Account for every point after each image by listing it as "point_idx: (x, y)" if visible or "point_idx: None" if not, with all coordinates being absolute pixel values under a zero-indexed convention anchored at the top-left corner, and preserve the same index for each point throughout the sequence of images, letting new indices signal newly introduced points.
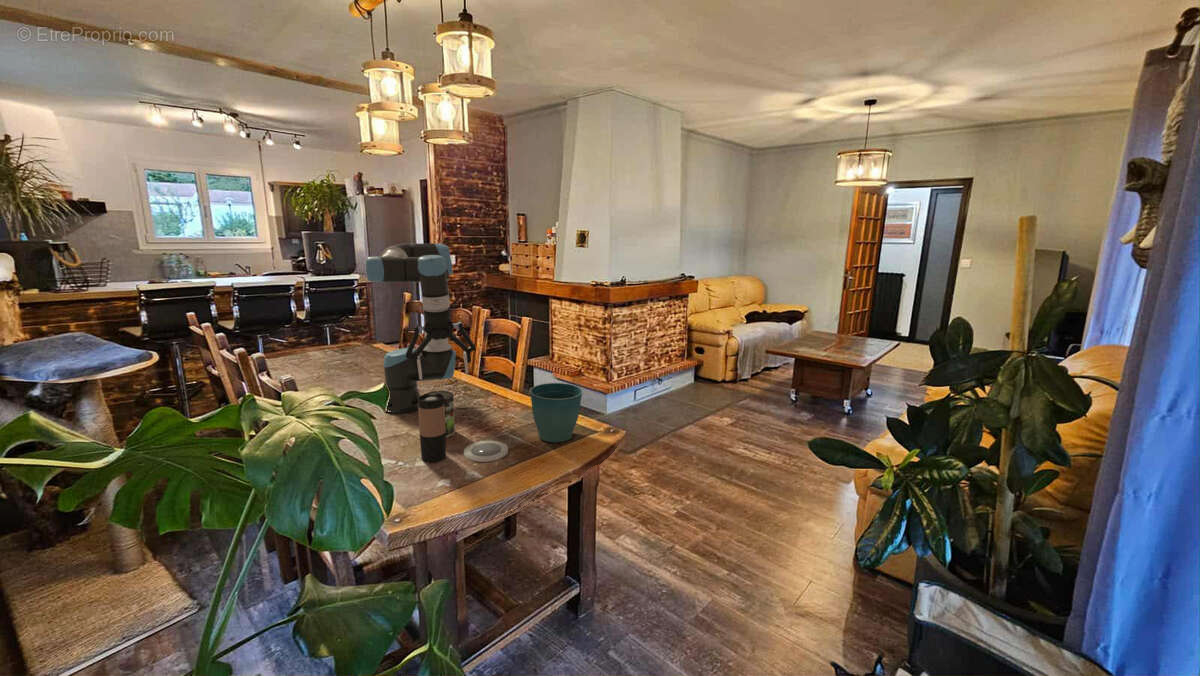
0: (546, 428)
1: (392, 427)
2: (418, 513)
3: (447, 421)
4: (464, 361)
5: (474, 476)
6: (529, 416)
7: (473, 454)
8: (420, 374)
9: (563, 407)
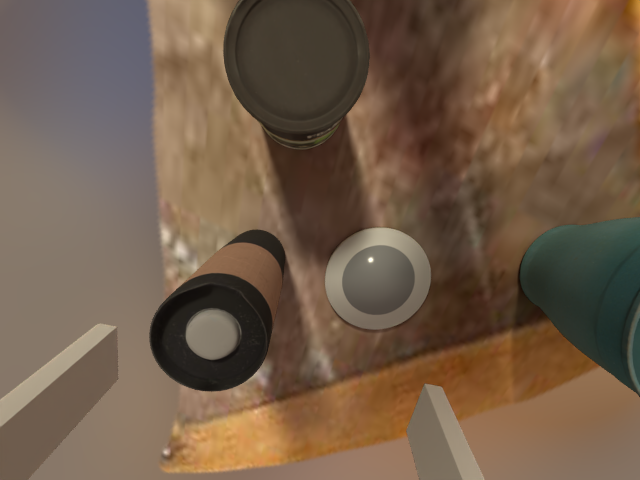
0: (548, 317)
1: None
2: (200, 447)
3: (317, 140)
4: (451, 472)
5: (318, 371)
6: (581, 98)
7: (343, 292)
8: (82, 410)
9: None
